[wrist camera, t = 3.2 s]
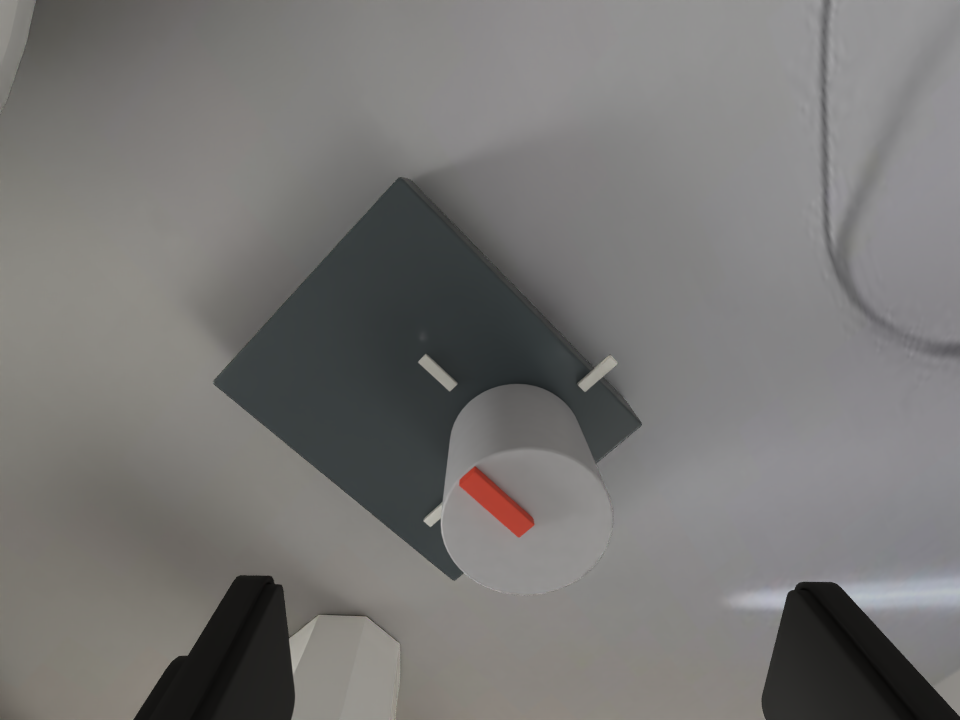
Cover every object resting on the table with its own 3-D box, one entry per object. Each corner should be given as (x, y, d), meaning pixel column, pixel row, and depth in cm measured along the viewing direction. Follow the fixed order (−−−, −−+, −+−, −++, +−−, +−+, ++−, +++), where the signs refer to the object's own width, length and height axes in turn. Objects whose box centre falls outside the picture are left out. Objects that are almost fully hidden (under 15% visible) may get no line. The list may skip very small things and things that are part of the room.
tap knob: (608, 445, 18) (653, 533, 13) (513, 524, 19) (524, 632, 14) (518, 356, 17) (533, 417, 12) (422, 444, 18) (402, 532, 13)
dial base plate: (675, 420, 20) (698, 447, 18) (487, 574, 22) (488, 614, 20) (425, 158, 17) (418, 154, 15) (237, 363, 19) (207, 385, 17)
